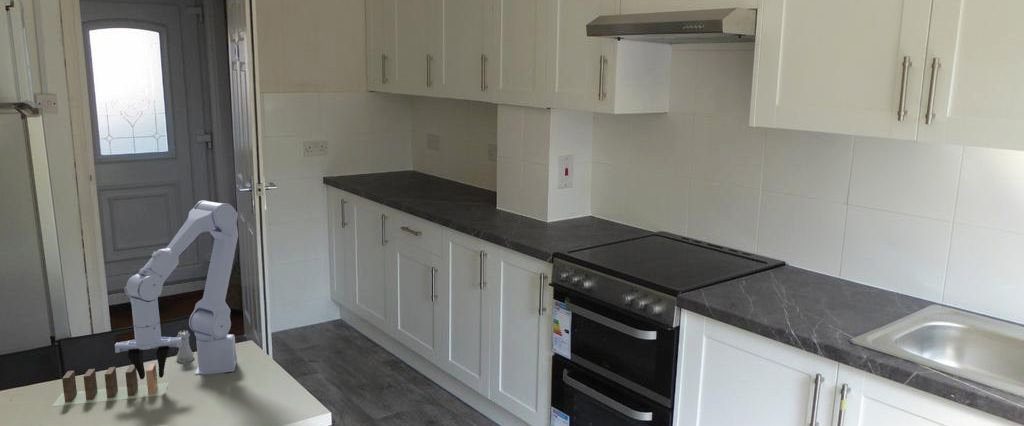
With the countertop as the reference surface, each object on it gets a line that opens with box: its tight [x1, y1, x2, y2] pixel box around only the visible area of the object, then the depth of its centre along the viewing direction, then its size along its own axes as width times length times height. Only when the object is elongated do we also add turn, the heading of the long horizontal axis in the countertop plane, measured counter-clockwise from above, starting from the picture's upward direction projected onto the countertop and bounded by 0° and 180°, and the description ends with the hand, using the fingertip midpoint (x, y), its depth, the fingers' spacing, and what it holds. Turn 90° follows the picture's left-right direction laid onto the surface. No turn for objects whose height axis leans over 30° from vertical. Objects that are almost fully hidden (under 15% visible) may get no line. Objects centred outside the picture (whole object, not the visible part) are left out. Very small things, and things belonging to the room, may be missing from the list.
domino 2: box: [83, 368, 98, 400], centre depth 181 cm, size 1×4×6 cm, turn 15°
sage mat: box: [51, 382, 170, 407], centre depth 183 cm, size 24×8×1 cm, turn 105°
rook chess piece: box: [176, 330, 195, 363], centre depth 204 cm, size 4×4×8 cm
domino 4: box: [124, 364, 139, 396], centre depth 183 cm, size 1×4×6 cm, turn 15°
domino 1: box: [61, 370, 77, 402], centre depth 180 cm, size 1×4×6 cm, turn 14°
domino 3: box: [104, 366, 119, 398], centre depth 182 cm, size 1×4×6 cm, turn 14°
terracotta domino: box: [145, 362, 159, 394], centre depth 184 cm, size 1×4×6 cm, turn 15°
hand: (152, 376), depth 184 cm, fingers open, 4 cm apart
